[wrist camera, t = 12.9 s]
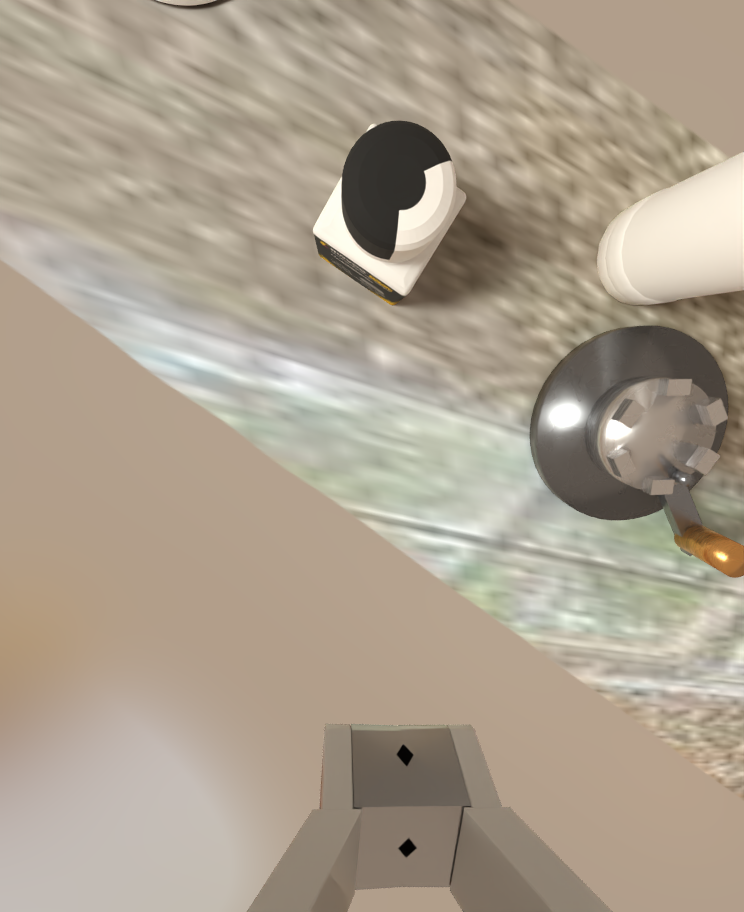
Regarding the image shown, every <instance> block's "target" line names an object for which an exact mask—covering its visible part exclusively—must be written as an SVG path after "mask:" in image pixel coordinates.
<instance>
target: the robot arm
mask: <svg viewBox="0 0 744 912" xmlns="http://www.w3.org/2000/svg"><path fill="white" fill-rule="evenodd" d="M156 1H160V2H164V3H168V4H174V5H199V4H205V3H209V2H213V1H216V0H156ZM391 887H450V891H451V893H452V895H453V896H454V898H455V899H456V901H457V903H458V904H459V906H460V907H461V909H462V911H463V912H612V911H611V910H610V909H609V908H608V907H607V906H606V904H604V902H603V901H601V899H600V898H599V897H598V896H597V895H596V894H595V893H594V892H593V891H592V890H591V889H590V888H589V887H588V886H587V885H586V884H585V883H584V882H583V881H582V880H581V879H580V878H579V877H578V876H577V875H576V874H575V873H574V872H573V871H572V870H571V869H570V868H569V867H568V866H567V865H566V864H565V863H564V862H563V861H562V860H561V859H560V858H559V857H558V856H557V855H556V854H555V853H554V851H552V850H551V849H550V847H549V846H548V845H547V844H546V843H545V842H544V841H543V840H542V839H541V838H540V837H538V835H537V834H536V833H535V832H534V831H533V830H532V829H531V828H530V827H529V826H528V825H527V824H526V823H525V822H524V821H523V820H522V819H521V818H520V817H519V816H518V815H517V814H516V813H515V812H514V811H513V810H512V809H511V808H510V807H502V805H501V802H500V800H499V797H498V794H497V791H496V788H495V786H494V783H493V780H492V777H491V774H490V772H489V769H488V766H487V763H486V760H485V757H484V754H483V752H482V749H481V746H480V743H479V740H478V738H477V735H476V732H475V729H474V728H473V727H472V726H471V725H398V726H393V725H391V726H390V725H364V724H351V726H350V725H349V724H325V730H324V744H323V759H322V775H321V790H320V807H319V809H317V810H312V812H311V813H310V815H309V816H308V818H307V819H306V821H305V823H304V824H303V826H302V827H301V829H300V830H299V832H298V833H297V835H296V836H295V838H294V840H293V841H292V843H291V844H290V846H289V847H288V849H287V850H286V852H285V853H284V855H283V857H282V858H281V860H280V861H279V863H278V864H277V866H276V867H275V869H274V870H273V872H272V874H271V875H270V877H269V878H268V880H267V881H266V883H265V885H264V886H263V888H262V889H261V891H260V892H259V894H258V895H257V897H256V898H255V900H254V902H253V903H252V905H251V906H250V908H249V909H248V911H247V912H347V911H348V908H349V906H350V904H351V901H352V899H353V896H354V893H355V890H360V889H375V888H391Z"/></svg>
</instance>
